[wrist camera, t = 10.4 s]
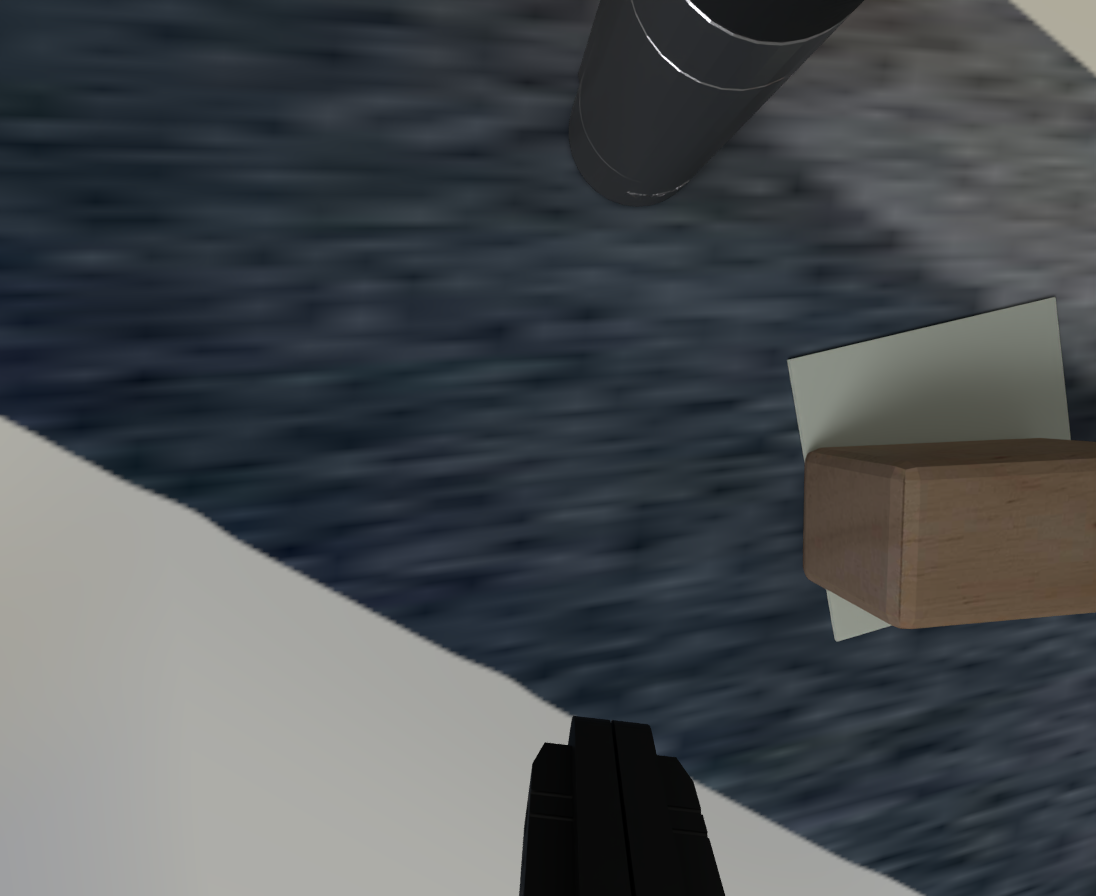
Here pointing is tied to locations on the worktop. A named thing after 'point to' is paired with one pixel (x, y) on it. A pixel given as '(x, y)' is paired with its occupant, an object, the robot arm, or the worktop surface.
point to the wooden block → (954, 529)
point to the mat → (934, 395)
